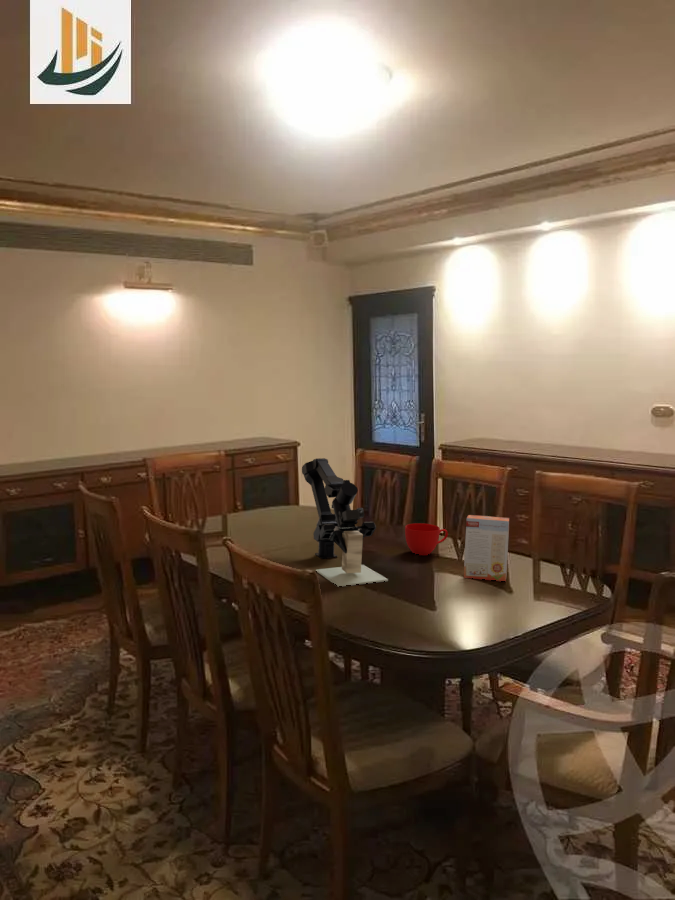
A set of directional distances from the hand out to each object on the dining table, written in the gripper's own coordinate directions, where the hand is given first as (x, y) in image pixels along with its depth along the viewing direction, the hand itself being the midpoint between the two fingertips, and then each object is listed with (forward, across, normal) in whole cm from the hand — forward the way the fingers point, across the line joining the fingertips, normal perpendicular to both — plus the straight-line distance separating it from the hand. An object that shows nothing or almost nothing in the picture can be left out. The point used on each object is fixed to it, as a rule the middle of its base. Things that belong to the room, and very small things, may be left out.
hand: (353, 552), depth 241 cm
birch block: (+4, 0, +6) cm, 7 cm away
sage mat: (+5, 0, +7) cm, 9 cm away
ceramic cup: (-9, +38, +22) cm, 45 cm away
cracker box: (+15, +43, -2) cm, 46 cm away
